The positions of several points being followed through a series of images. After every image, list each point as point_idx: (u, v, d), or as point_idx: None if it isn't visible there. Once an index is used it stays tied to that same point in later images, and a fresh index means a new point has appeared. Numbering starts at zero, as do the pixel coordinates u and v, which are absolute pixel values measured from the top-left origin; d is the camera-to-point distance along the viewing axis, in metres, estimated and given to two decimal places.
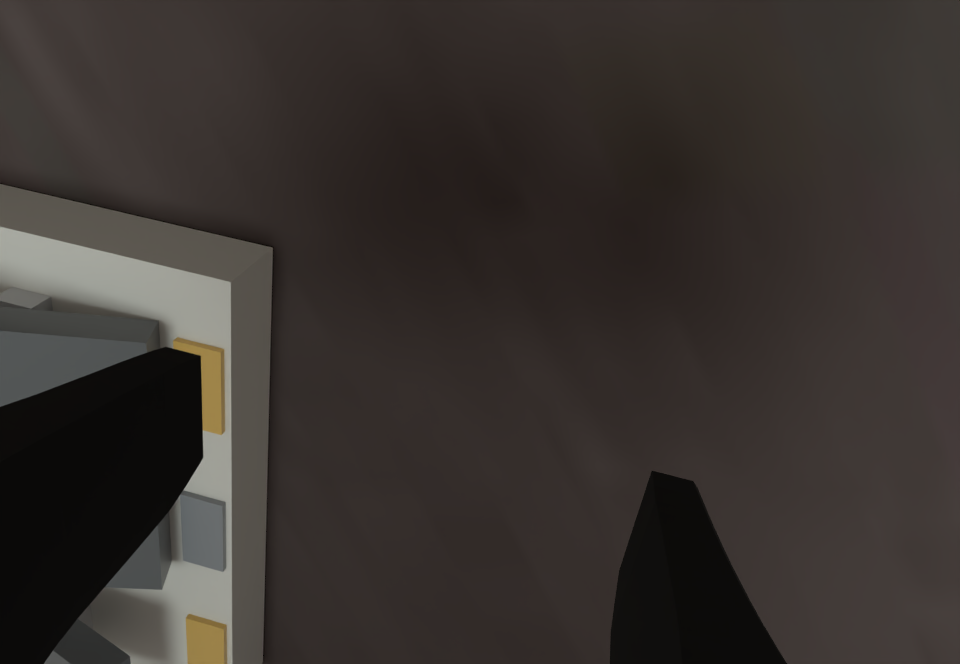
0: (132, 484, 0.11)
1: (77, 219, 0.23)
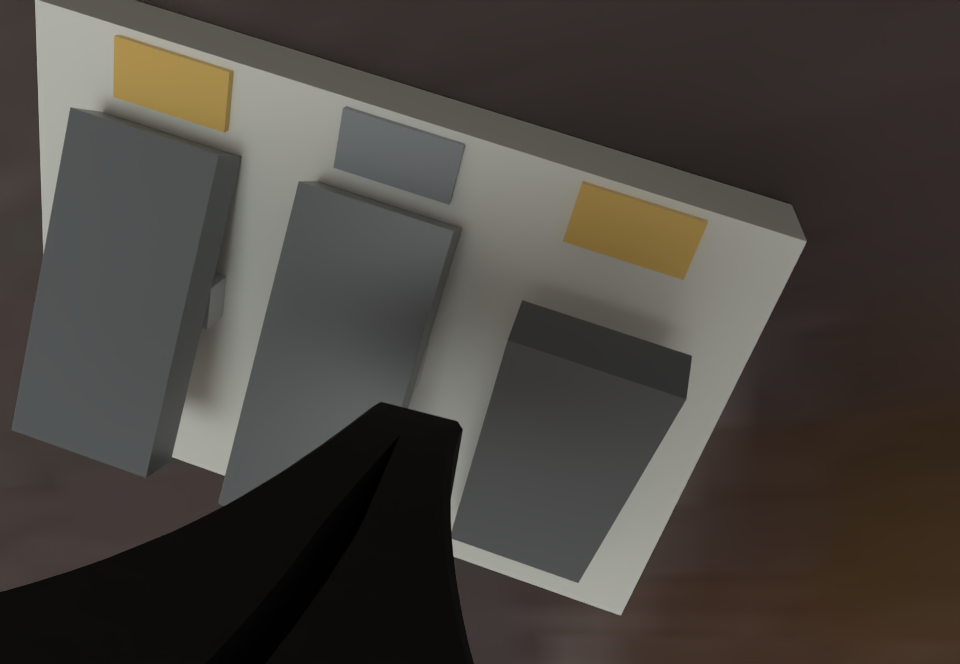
0: None
1: None
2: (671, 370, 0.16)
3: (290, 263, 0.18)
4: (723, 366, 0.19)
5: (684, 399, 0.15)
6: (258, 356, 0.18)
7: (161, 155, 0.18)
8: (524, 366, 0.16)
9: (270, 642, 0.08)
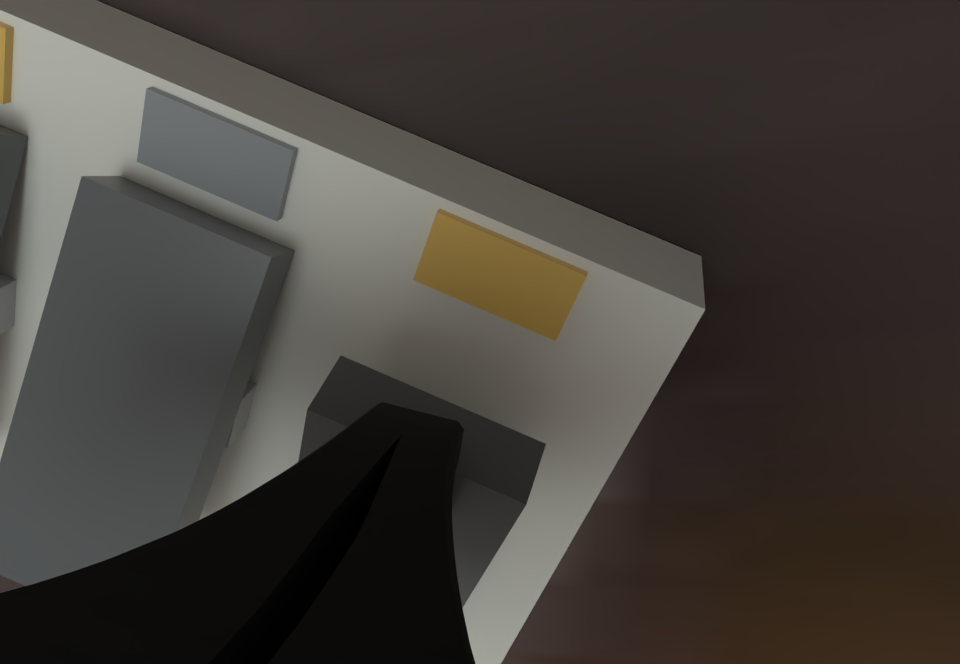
0: None
1: None
2: (515, 462, 0.12)
3: (68, 278, 0.14)
4: (600, 445, 0.15)
5: (523, 504, 0.12)
6: (25, 388, 0.15)
7: None
8: None
9: (272, 642, 0.08)
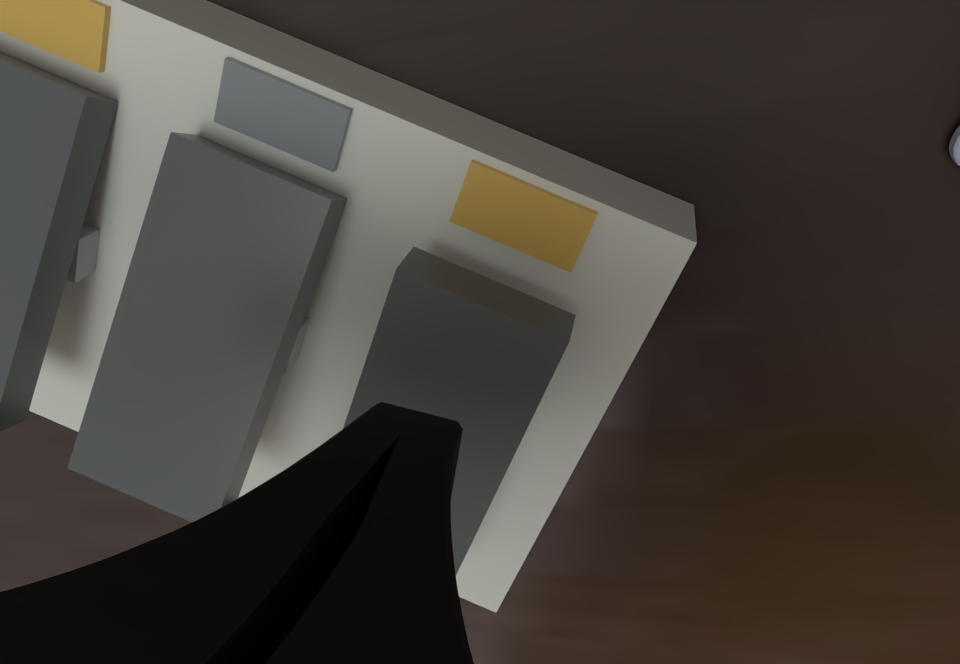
0: None
1: None
2: (555, 320, 0.16)
3: (157, 219, 0.17)
4: (608, 365, 0.18)
5: (567, 341, 0.15)
6: (118, 315, 0.17)
7: (24, 90, 0.16)
8: (409, 302, 0.16)
9: (270, 642, 0.08)
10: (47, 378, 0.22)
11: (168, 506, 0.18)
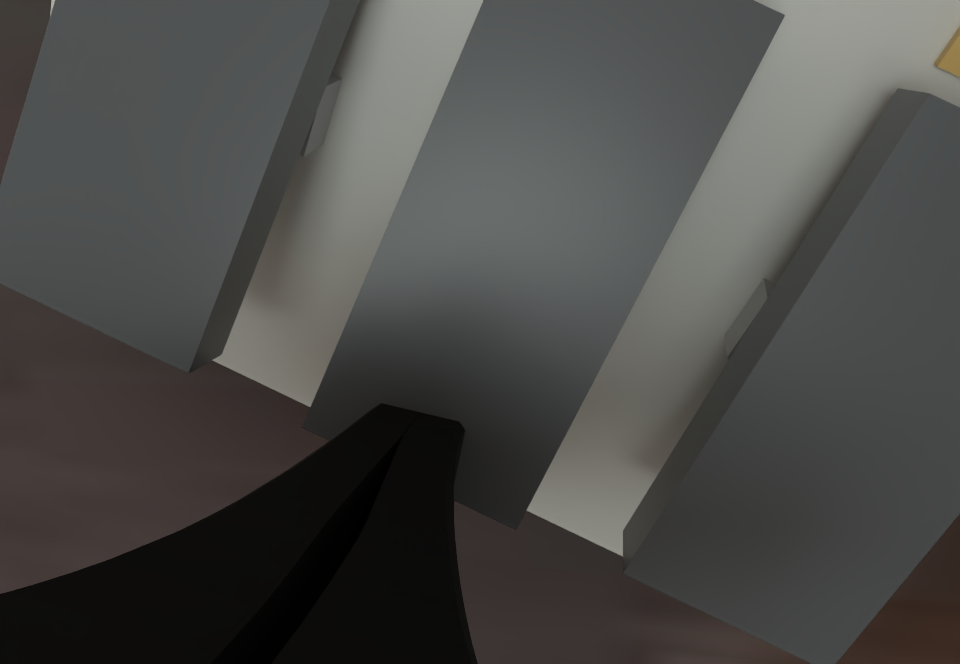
0: None
1: None
2: None
3: (489, 41, 0.11)
4: None
5: None
6: (406, 195, 0.11)
7: None
8: (935, 153, 0.10)
9: (273, 643, 0.08)
10: None
11: None
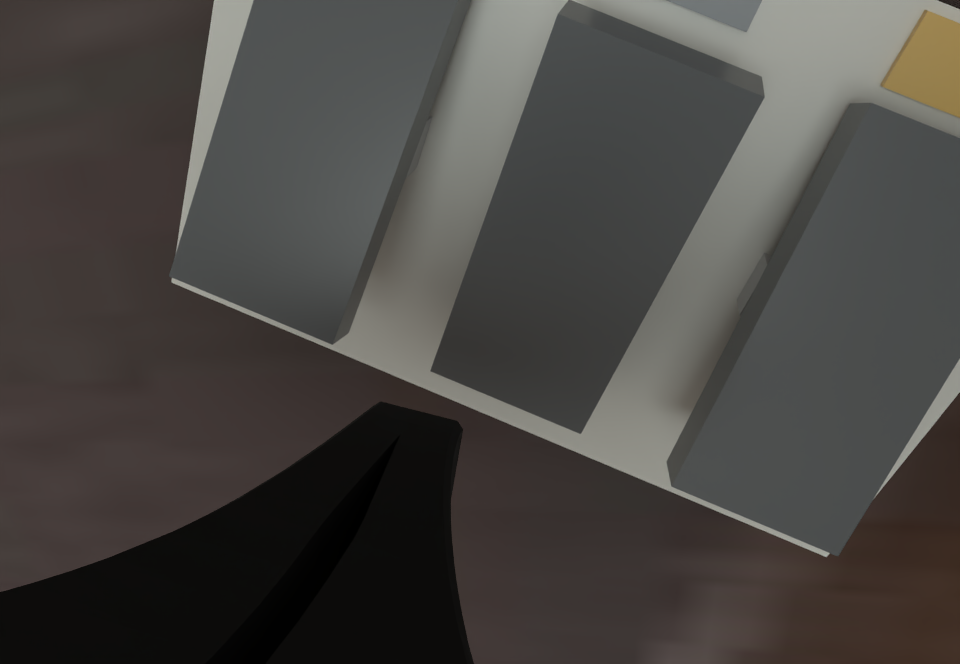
0: None
1: None
2: None
3: (536, 121, 0.14)
4: None
5: None
6: (485, 226, 0.15)
7: None
8: (879, 144, 0.14)
9: (270, 642, 0.08)
10: None
11: (535, 410, 0.17)
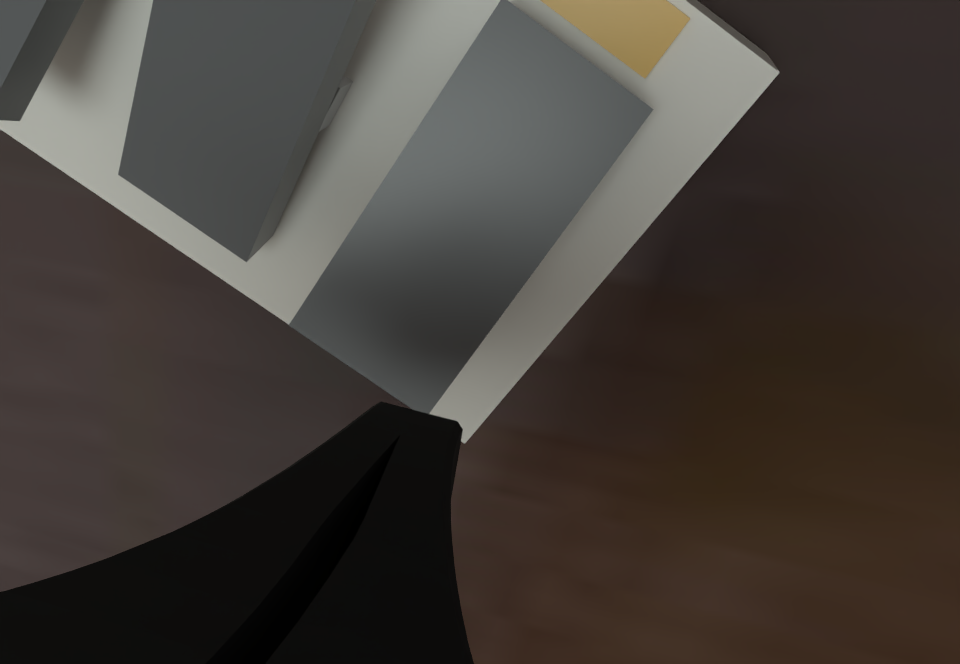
0: None
1: None
2: None
3: None
4: (652, 191, 0.18)
5: (652, 108, 0.15)
6: (148, 46, 0.16)
7: None
8: (505, 37, 0.15)
9: (270, 642, 0.08)
10: (39, 100, 0.20)
11: (207, 232, 0.19)
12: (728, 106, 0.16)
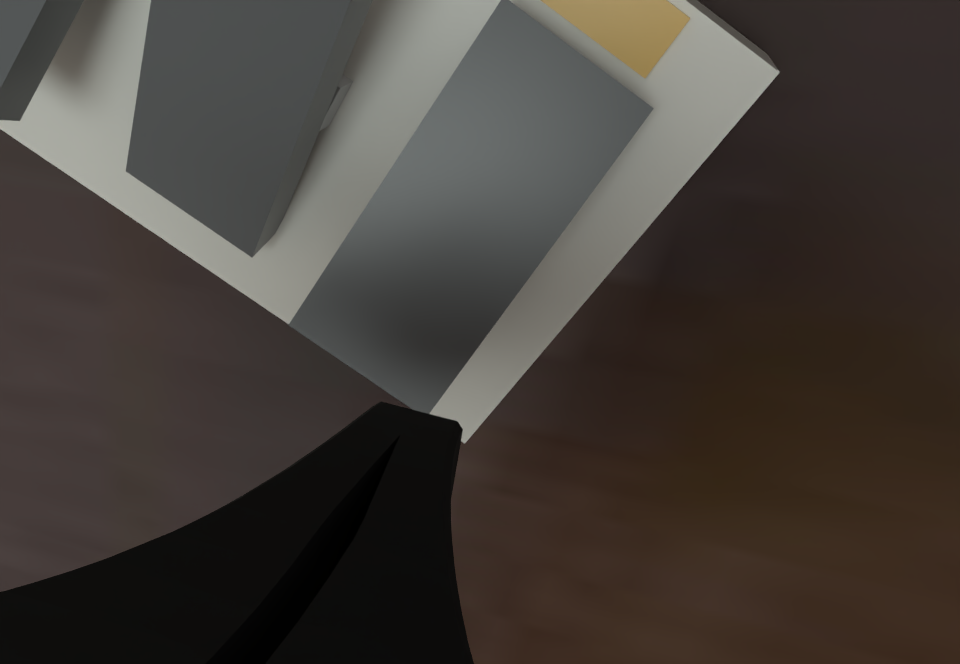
0: None
1: None
2: None
3: None
4: (652, 191, 0.18)
5: (652, 107, 0.16)
6: (147, 49, 0.16)
7: None
8: (506, 36, 0.15)
9: (270, 642, 0.08)
10: (39, 100, 0.20)
11: (213, 227, 0.19)
12: (728, 106, 0.16)
